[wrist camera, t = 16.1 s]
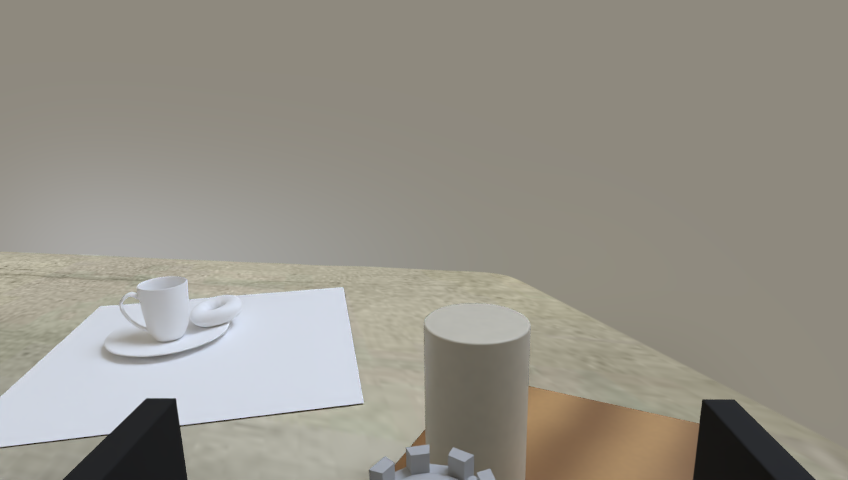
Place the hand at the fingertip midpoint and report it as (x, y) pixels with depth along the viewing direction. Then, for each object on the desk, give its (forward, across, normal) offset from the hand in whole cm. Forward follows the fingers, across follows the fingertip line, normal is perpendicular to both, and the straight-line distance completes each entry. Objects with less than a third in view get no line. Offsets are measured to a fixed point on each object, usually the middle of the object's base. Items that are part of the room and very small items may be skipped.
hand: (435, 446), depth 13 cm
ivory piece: (+7, +2, -6) cm, 10 cm away
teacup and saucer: (+21, -16, -7) cm, 28 cm away
